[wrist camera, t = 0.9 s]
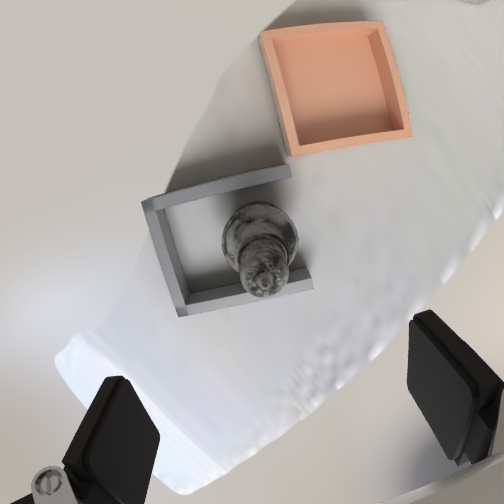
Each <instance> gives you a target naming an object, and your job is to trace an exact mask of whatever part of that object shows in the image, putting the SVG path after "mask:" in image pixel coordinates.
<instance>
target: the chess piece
mask: <svg viewBox="0 0 504 504" xmlns="http://www.w3.org/2000/svg"><path fill="white" fill-rule="evenodd" d="M222 249H223V253H224V256H225V258H226V260H227V261H228V263H229V264H230V265H231V266H232V267H233V268H234V269H235V270H236V271H237V272H239V274H240V280H241V283H242V285H243V287H244V289H245V290H246V291H247V292H248V293H250V294H251V295H253V296H256V297H259V298H267V297H272V296H274V295H276V294H278V293H279V292H280V291H281V290H282V289H283V288H284V287H285V285H286V283H287V281H288V277H289V268H288V266H289V265H290V263H291V262H292V261H293V259H294V257H295V255H296V252H297V249H298V235H297V230H296V228H295V226H294V223H293V222H292V220H291V219H290V218H289V217H288V216H287V214H285V213H284V212H282V211H281V210H279V209H278V208H277V207H275V206H274V205H272V204H269V203H266V202H252V203H248V204H246V205H244V206H242V207H241V208H239V209H238V210H237V211H236V212H235V213H234V215H233V216H232V217H231V218H230V220H229V221H228V223H227V224H226V226H225V228H224V231H223V234H222Z"/></svg>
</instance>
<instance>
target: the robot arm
mask: <svg viewBox="0 0 504 504" xmlns="http://www.w3.org/2000/svg"><path fill="white" fill-rule="evenodd" d="M463 1H465V2H469V3H473V4H482V3H485V2H487V1H489V0H463ZM408 352H409V353H408V373H407V386H408V390H409V392H410V393H411V395H412V397H413V398H414V400H415V402H416V403H417V405H418V407H419V409H420V410H421V412H422V414H423V415H424V417H425V419H426V420H427V422H428V423H429V425H430V427H431V429H432V431H433V433H434V434H435V436H436V438H437V439H438V441H439V443H440V445H441V447H442V448H443V450H444V452H445V454H446V456H447V457H448V459H449V460H453V459H454V460H455V462H456V464H457V466H459V465H461V464H463V463H465V462H467V461H470V462H471V464H472V465H471V466H469V467H467V468H465V469H463V470H461V471H458V472H456V473H454V474H452V475H450V476H448V477H445V478H443V479H441V480H439V481H436V482H434V483H431V484H429V485H426V486H424V487H421V488H419V489H416V490H413V491H411V492H408V493H406V494H403V495H400V496H397V497H395V498H391V499H389V500H385V501H382V502H379V503H376V504H504V382H503V381H502V380H501V379H500V378H499V377H498V375H497V374H496V373H495V372H494V371H493V370H492V369H491V368H490V367H489V366H488V365H487V364H486V363H485V362H484V361H483V360H482V359H481V358H480V357H479V356H478V354H477V353H476V352H475V351H474V350H473V349H472V348H471V347H470V346H469V345H468V344H467V343H466V342H465V341H463V340H462V339H461V338H460V337H459V336H458V335H457V334H456V333H455V332H454V331H453V330H452V329H451V328H450V327H449V326H447V324H446V323H444V322H443V321H442V320H441V319H440V318H439V317H438V316H437V315H436V314H435V313H434V312H433V311H432V310H426V311H423V312H420V313H417V314H415V315H414V317H413V320H411V321H410V322H409V351H408ZM159 442H160V434H159V431H158V429H157V428H156V426H155V425H154V423H153V421H152V420H151V418H150V416H149V415H148V413H147V411H146V409H145V408H144V406H143V404H142V403H141V401H140V399H139V397H138V395H137V394H136V392H135V390H134V388H133V386H132V384H131V383H130V381H129V380H128V379H125V378H124V377H123V376H111V377H106V378H105V379H104V381H103V383H102V385H101V387H100V389H99V390H98V392H97V394H96V396H95V398H94V400H93V401H92V403H91V405H90V407H89V409H88V411H87V413H86V415H85V417H84V418H83V421H82V422H81V424H80V426H79V428H78V430H77V432H76V434H75V436H74V438H73V440H72V442H71V444H70V446H69V448H68V450H67V452H66V454H65V456H64V458H63V460H62V462H63V464H64V465H65V467H64V469H62V468H60V467H57V466H49V467H46V468H43V469H42V470H40V471H39V472H38V473H37V474H36V475H35V476H34V478H33V480H32V484H31V488H32V493H31V494H29V495H27V496H25V497H23V498H21V499H19V500H17V501H15V502H13V503H11V504H144V502H145V498H146V494H147V490H148V485H149V482H150V478H151V473H152V469H153V465H154V461H155V458H156V454H157V450H158V446H159Z"/></svg>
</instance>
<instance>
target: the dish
mask: <svg viewBox="0 0 504 504" xmlns="http://www.w3.org/2000/svg"><path fill="white" fill-rule="evenodd" d="M259 46H260V49H261V53H262V57H263V60H264V64H265V68H266V71H267V75H268V79H269V83H270V87H271V91H272V94H273V98H274V102H275V106H276V110H277V114H278V119H279V123H280V127H281V131H282V135H283V140H284V144H285V148H286V153H287V156H288V157H294V156H299V155H304V154H309V153H315V152H320V151H325V150H331V149H336V148H342V147H348V146H354V145H360V144H366V143H373V142H379V141H386V140H393V139H401V138H408V137H413V134H412V129H411V124H410V119H409V114H408V110H407V105H406V101H405V97H404V93H403V88H402V84H401V81H400V77H399V73H398V69H397V66H396V62H395V59H394V55H393V52H392V49H391V46H390V42H389V39H388V36H387V33H386V30H385V27H384V24H383V22H382V21H355V22H335V23H322V24H311V25H302V26H294V27H286V28H279V29H273V30H267V31H261V32H260V38H259Z"/></svg>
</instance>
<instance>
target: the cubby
mask: <svg viewBox="0 0 504 504" xmlns="http://www.w3.org/2000/svg"><path fill="white" fill-rule="evenodd" d="M290 177H292V176H291V171H290V167H289V164H281V165H276V166H271V167H267V168H262V169H258V170H254V171H249V172H245V173H241V174H237V175H233V176H228V177H224V178H220V179H216V180H212V181H208V182H205V183H201V184H197V185H193V186H189V187H186V188H182V189H178V190H175V191H171V192H168V193H164V194H161V195H157V196H154V197H151V198H148V199H146V200H144V201H142V202H141V203H142V207H143V210H144V214H145V217H146V221H147V224H148V227H149V231H150V234H151V237H152V240H153V244H154V247H155V250H156V253H157V256H158V259H159V262H160V265H161V268H162V271H163V274H164V277H165V280H166V283H167V286H168V289H169V292H170V295H171V298H172V301H173V303H174V306H175V309H176V312H177V314H178V317H183V316H188V315H193V314H198V313H203V312H209V311H214V310H219V309H224V308H228V307H233V306H238V305H243V304H248V303H252V302H257V301H261V300H266V299H271V298H275V297H280V296H284V295H288V294H293V293H297V292H301V291H306V290H310V289H314V288H313V282H312V278H311V275H310V273H309V271H308V269H307V268H304V269H299V270H295V271H291V272H289V277H288V281H287V283H286V285H285V287H284V288H283V289H282V290H281V291H280V292H279V293H278V294H276V295H274V296H272V297H267V298H259V297H256V296H253V295H251V294H250V293H248V292H247V291H246V290H245V289H244V287H243V285H242V283H237V284H232V285H228V286H223V287H218V288H214V289H209V290H204V291H199V292H195V293H190V291H189V288H188V285H187V282H186V279H185V276H184V273H183V270H182V266H181V263H180V260H179V257H178V254H177V250H176V247H175V244H174V240H173V237H172V234H171V230H170V227H169V223H168V220H167V217H166V213H165V210H164V208H167V207H171V206H174V205H178V204H182V203H186V202H189V201H193V200H197V199H201V198H205V197H209V196H213V195H217V194H221V193H225V192H229V191H233V190H237V189H241V188H246V187H250V186H254V185H259V184H263V183H267V182H272V181H276V180H281V179H286V178H290Z"/></svg>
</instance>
